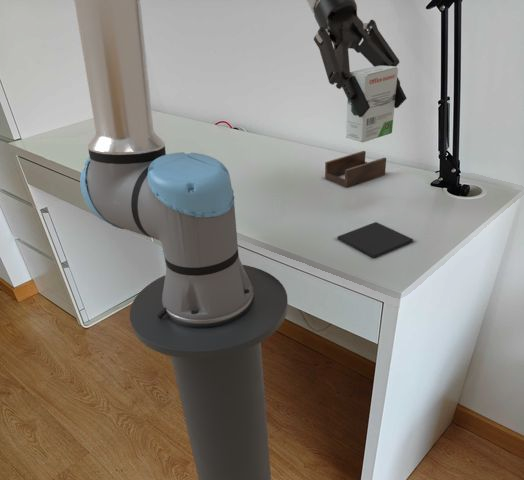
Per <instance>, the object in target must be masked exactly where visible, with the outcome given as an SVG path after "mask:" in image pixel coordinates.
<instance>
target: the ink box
mask: <svg viewBox="0 0 524 480" xmlns="http://www.w3.org/2000/svg"><path fill="white" fill-rule="evenodd" d="M398 72H399V68H398V67H397V66H396V67H395V66H375V67H374V66H371V67H367V68H362V69H358V70H354V71H350V77H349V78H351V77H352V76H355V77H356V79H357V81H358V83H359V86H360V88H361V90H362V92H363V94H364V96H365V98H366V100H367V102H368V104H369V106H370V108H369V109H368V111H367V112H366V113H365V114H364V115H363V116H362V117H359V116H358V114H357V112H356V110H355V108H354V106H353V104H352V102H351V100H349V99H348V98H347V102H346V103H347V105H346V127H345V128H346V130H345V138H346V139H349V140H352V141H356V142H359V143H366V142H369V141H372V140H375V139H379V138H380V137H384V136H388V135H390V134H392V133H393V127H394V117H395V107H394V106H395V95H396V85H397V77H398Z"/></svg>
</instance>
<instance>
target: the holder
mask: <svg viewBox="0 0 524 480" xmlns="http://www.w3.org/2000/svg"><path fill="white" fill-rule="evenodd" d="M366 153H367V152H366V150H362V151H359V152H354V153H351V154H348V155H345V156H341V157H337V158H334V159H331V160H328V161H325V163H324V164H325V165H324V179H326V180H328V181H329V182H333V183H335V184H337V185H340V186H342V187H344V188H350V187H352V186H355V185H358V184H361V183H364V182H368V181H370V180H373V179H376V178H379V177H382V176H385V174H386V167H387V158H386V157H382V158H378V159H375V160H371V161H366ZM341 175H344V178H343V177H341Z"/></svg>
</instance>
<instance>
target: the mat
mask: <svg viewBox="0 0 524 480" xmlns="http://www.w3.org/2000/svg"><path fill="white" fill-rule="evenodd" d="M337 240H338V241H340V242H342V243H344V244H346V245H347V246H350V247H352V248H354V249H356V250H357V251H359V252H361V253H363V254H365V255H367V256H369V257H370V258H372V259H376V258H378V257H380V256H383V255H385V254H387V253H390V252H392V251H394V250H397V249H399V248H401V247H404V246H407V245H409V244H411V243H413V241H414V238H412V237H409V236H407V235H405V234H403V233H400V232H398V231H396V230H394V229H392V228H390V227H388V226H386V225H383V224H381V223H379V222H377V221H374V222H371V223H370V224H367V225H364V226H362V227H358V228H357V229H354V230H351V231H348V232H346V233H342V234H341V235H337Z"/></svg>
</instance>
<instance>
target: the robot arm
mask: <svg viewBox="0 0 524 480" xmlns="http://www.w3.org/2000/svg"><path fill="white" fill-rule="evenodd" d="M306 2H307V4H308V6H309V8H310V10H311V13H312V14H313V15H314V19H315V22H316V23H317V26H318V27H319V28H318V30H317V32H316V33H315V35H314V37H313V42H314V43H315V44H316V46H317V48H318V50H319V53H320V56H321V59H322V63H323V67H324V70H325V73H326V76H327V80H328V83H329V84H330V85H335V84H336V85H335V87H336V88H337V89H338V90H341V89H342V91H343V92H344V95H345V96H346V98H347V100H348V99H349V100H351V102H352V104H353V106H354V108H355V110H356V112H357V114H358V116H359V117H362V116H363V115H364V114H365V113H366V112H367V111H368V109H369V108H370V106H369V104H368V102H367V100H366V98H365V96H364V94H363V92H362V90H361V88H360V86H359V83H358V81H357V79H356V77H355V76H352V77H351V78H349V77H350V72H351V69H350V67H351V66H350V56H349V55H350V54H349V49H352V50H354V51H355V52H356V53H358V54H361V55H362V56H363V57H364V58H365V59H366V60H367V61H368V62H369V63H370V64H371V65H372V67H375V66H395V67H397V66H398V65H400V60H399V58H398V56H397V54H396V53H395V52H394V51H393V49H392V47H391V46H390V45H389V43H388V42H387V41H386V38H384V36H383V35H382V33H381V32H380V30H379V29H378V26H377V23H376V21H375V20H374V19H370V20H369V22H367V23H365V22H363V21H362V20H361V19H360V17H359V16H358V5H357V2H356V0H306ZM74 6H75V13H76V19H77V23H78V24H77V25H78V31H79V37H80V43H81V49H82V56H83V62H84V68H85V73H86V80H87V87H88V92H89V93H88V94H89V98H90V99H89V100H90V105H91V111H92V117H93V124H94V130H95V134H94V136H93V138H92V139H91V140H90V141H89V143H88V144H87V149H88V155H89V157H88V158H87V159H86V160H85V162H84V164H83V165H84V168H83V169H81V172H80V179H79V185H80V191H81V195H82V198H83V200H84V202H85V205H86V206H87V208H88V209H89V210H90V212H91V213H92V214H93V215H94V216H95V217H96V218H98V219H100V220H101V221H104V222H105V223H107V224H109V225H110V226H112V227H115V228H117V229H120V230H127V231H130V232H133V233H136V234H139V235H142V236H145V237H148V238H151V239H155V240H157V241H160V243H161V248H162V253H163V256H164V257H163V258H164V260H165V261H164V262H165V266H166V267H165V268H166V269H165V274H164V275H165V281H164V288H163V294H162V303H163V309H162V310H161V311H160V312H159V313H158V314H157V315H156V316H157V317H158V318H159V319H161V318H162V317H163V316H164V315H165V314H166V316H167V317H168V318H169V319H170V320H171V321H173V322H175V323H177V324H179V325H182V326H185V327H191V328H212V327H218V326H222V325H225V324H228V323H231V322H233V321H235V320H237V319H239V318H241V317H242V316H243V315H245V314H246V313H247V312H248V311H249V310H250V308H251V307H252V305H253V301H254V297H253V288H252V285H251V282H250V280H249V278H248V276H247V274H246V272H245V270H244V267H243V265H244V264H243V263H242V261H241V259H240V256H239V255H240V254H239V246H238V244H239V243H238V234H237V233H238V231H237V222H236V221H237V220H236V207H235V195H234V188H233V187H232V181H231V175H230V172H229V170H228V168H227V166H226V165H224V163H223V162H222V161H220V160H219V159H217V158H215V157H212V156H210V155H207V154H203V153H199V152H190V153H185V152H182V151H181V152H173V153H167V152H166V143H165V141H164V140H163V139H162V138H160V136H159V135H157V133H156V132H155V129H154V122H153V110H152V103H151V101H152V100H151V94H150V93H151V92H150V82H149V74H148V73H149V72H148V64H147V63H148V62H147V54H146V45H145V35H144V34H145V33H144V24H143V15H142V5H141V0H74ZM407 98H408V97H407V96H406V94H405V92H404V90H403V88H402V86H401V81H400V79H399V77H398V76H397V85H396V95H395V106H394V109H397V108H398V109H399V108H400V106H401V105H402V104H403V103H404V102H405V101H406V100H407Z"/></svg>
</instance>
